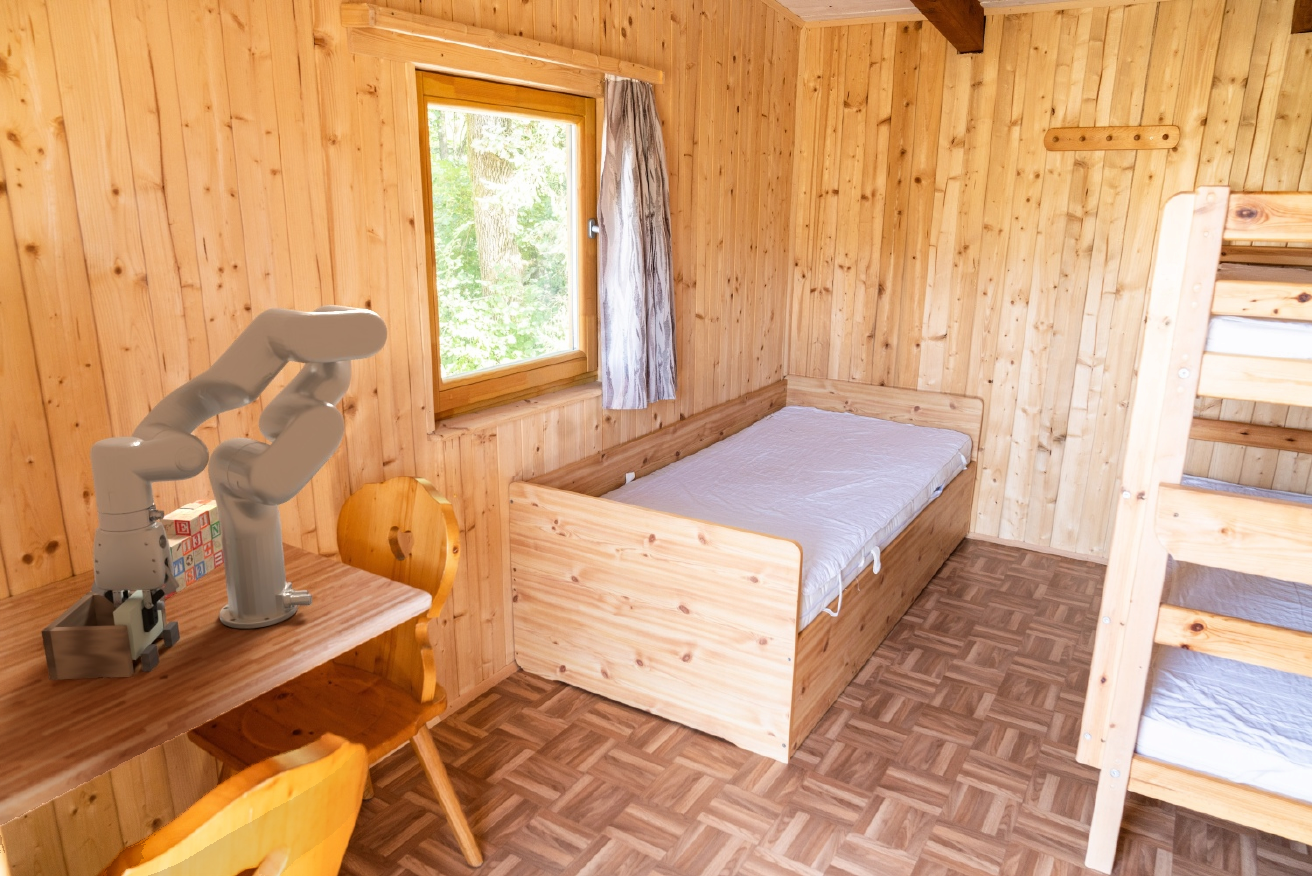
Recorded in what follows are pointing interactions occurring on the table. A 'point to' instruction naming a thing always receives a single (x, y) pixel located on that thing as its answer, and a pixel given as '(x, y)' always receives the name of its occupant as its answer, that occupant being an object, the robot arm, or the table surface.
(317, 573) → the table surface
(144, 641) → the door
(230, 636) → the table surface
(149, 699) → the table surface
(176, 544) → the stack of blocks
